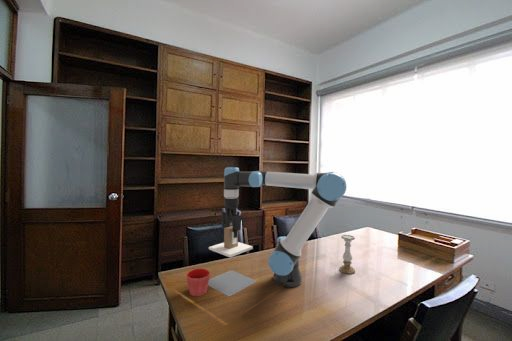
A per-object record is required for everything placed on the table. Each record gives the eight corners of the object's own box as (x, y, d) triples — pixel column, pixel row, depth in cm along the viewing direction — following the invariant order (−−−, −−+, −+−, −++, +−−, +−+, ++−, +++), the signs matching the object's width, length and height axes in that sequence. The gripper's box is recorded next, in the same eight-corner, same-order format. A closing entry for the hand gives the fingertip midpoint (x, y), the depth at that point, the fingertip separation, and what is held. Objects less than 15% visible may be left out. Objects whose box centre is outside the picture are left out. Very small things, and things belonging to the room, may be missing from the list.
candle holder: (356, 274, 139) (357, 239, 138) (340, 273, 141) (341, 238, 140) (353, 268, 148) (354, 235, 147) (338, 267, 149) (339, 233, 149)
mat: (257, 282, 128) (257, 281, 128) (228, 298, 113) (229, 296, 113) (231, 271, 141) (231, 269, 141) (202, 283, 126) (202, 282, 126)
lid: (252, 248, 127) (253, 227, 127) (230, 257, 115) (230, 233, 115) (231, 242, 138) (231, 222, 138) (208, 249, 126) (208, 227, 125)
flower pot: (204, 300, 111) (204, 279, 110) (182, 297, 113) (182, 277, 113) (213, 289, 121) (213, 269, 121) (192, 286, 123) (192, 267, 123)
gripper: (248, 198, 123) (248, 244, 124) (225, 195, 134) (225, 237, 135) (237, 199, 117) (237, 248, 118) (214, 196, 129) (214, 240, 129)
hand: (231, 242), depth 126 cm, fingers closed on lid, 4 cm apart
